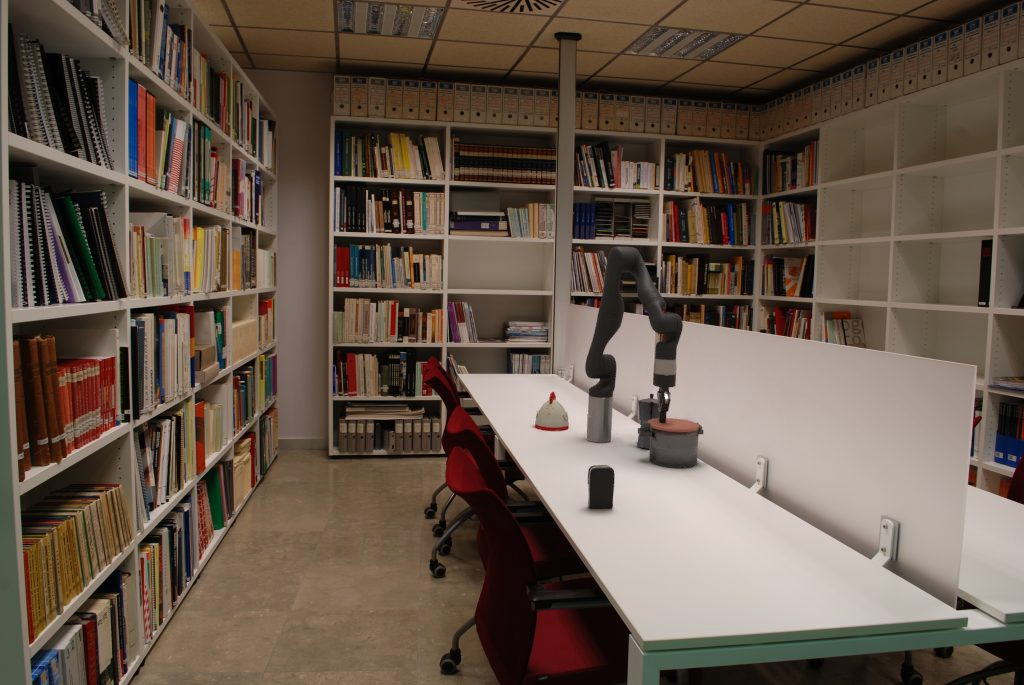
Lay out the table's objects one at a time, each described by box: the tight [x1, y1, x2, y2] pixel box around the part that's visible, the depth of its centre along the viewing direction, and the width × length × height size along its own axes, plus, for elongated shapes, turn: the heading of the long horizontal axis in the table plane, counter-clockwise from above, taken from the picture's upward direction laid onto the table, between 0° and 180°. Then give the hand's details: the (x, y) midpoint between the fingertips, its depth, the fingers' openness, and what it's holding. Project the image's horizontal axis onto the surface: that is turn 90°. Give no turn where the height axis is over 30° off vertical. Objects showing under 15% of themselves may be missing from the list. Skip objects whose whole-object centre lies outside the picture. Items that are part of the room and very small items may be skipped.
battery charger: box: [587, 464, 616, 509], centre depth 190 cm, size 7×4×11 cm, turn 98°
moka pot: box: [636, 393, 659, 450], centre depth 259 cm, size 10×15×20 cm, turn 174°
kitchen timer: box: [534, 391, 570, 432], centre depth 289 cm, size 14×14×15 cm
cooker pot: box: [637, 427, 704, 469], centre depth 239 cm, size 21×16×12 cm
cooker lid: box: [642, 417, 703, 432], centre depth 238 cm, size 20×17×1 cm
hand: (662, 422), depth 238 cm, fingers closed
